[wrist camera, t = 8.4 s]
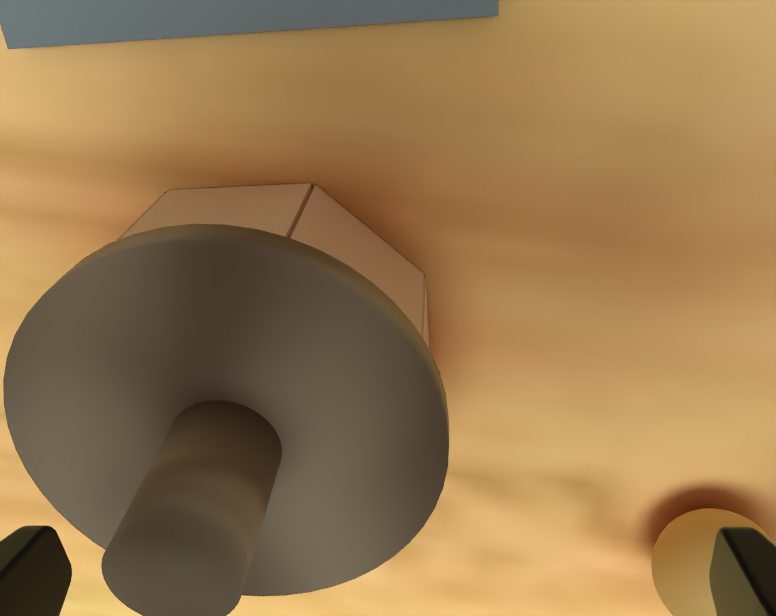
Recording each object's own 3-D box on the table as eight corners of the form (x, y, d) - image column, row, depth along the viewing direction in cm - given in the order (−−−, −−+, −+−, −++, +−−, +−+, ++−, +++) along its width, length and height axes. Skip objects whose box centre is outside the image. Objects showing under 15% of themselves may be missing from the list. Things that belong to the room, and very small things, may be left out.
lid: (441, 213, 15) (441, 334, 11) (453, 568, 20) (457, 746, 16) (-40, 233, 16) (-219, 351, 12) (91, 567, 21) (2, 733, 17)
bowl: (421, 177, 19) (416, 236, 15) (435, 462, 24) (434, 557, 20) (66, 194, 20) (-14, 254, 16) (149, 465, 25) (101, 556, 21)
